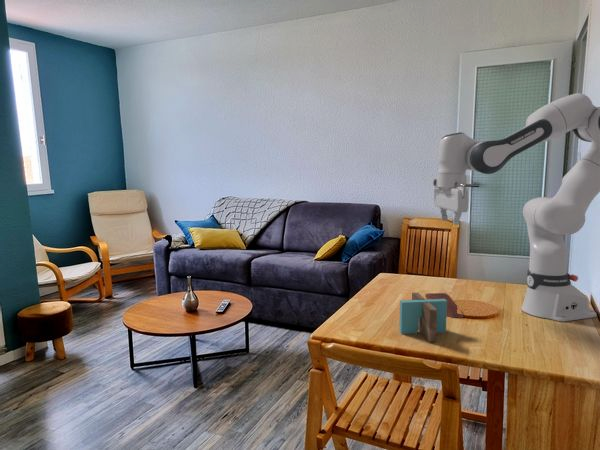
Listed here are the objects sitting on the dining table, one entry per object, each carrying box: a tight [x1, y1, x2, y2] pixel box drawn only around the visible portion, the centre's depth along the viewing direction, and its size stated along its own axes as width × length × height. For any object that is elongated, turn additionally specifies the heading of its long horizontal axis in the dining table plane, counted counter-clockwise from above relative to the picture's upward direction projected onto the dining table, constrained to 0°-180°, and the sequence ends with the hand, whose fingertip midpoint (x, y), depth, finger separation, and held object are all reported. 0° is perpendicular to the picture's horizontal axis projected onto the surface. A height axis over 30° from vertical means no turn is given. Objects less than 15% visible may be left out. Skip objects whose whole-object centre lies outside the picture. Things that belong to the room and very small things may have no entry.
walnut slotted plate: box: [411, 292, 437, 344], centre depth 132 cm, size 2×16×10 cm, turn 4°
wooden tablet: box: [424, 292, 465, 319], centre depth 156 cm, size 27×10×2 cm, turn 172°
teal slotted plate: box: [398, 299, 448, 335], centre depth 132 cm, size 14×2×10 cm, turn 94°
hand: (449, 222), depth 146 cm, fingers open, 8 cm apart
